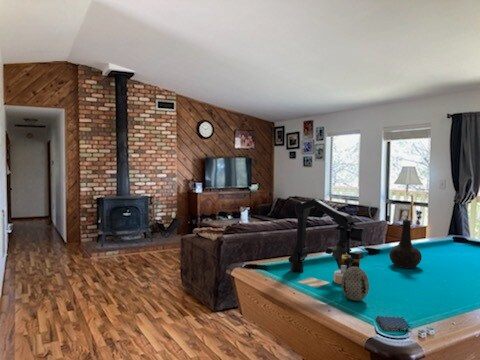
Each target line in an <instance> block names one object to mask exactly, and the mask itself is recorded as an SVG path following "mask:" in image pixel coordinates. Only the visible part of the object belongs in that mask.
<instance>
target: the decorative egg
mask: <svg viewBox="0 0 480 360" xmlns="http://www.w3.org/2000/svg"><path fill="white" fill-rule="evenodd" d="M341 289H342V292H343V294H344V295H345V297H346V298H347V299H349V300H351V301H355V302H357V301H358V302H359V301H362V300H363V299H365V298H366V297H367V296H368V294H369V292H370V282H369V278H368V275H367V273H366V272H365V271H364V269H362V268H361V267H360V266H359V267H356V266H353V267H350V268H348V269H347V270H346V271H345V273H344V275H343V277H342V284H341Z"/></svg>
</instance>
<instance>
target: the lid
mask: <svg viewBox="0 0 480 360" xmlns="http://www.w3.org/2000/svg"><path fill="white" fill-rule="evenodd" d="M346 267H347V266H346V265H341V270H340V269H338V270H334V272H333V275H334V274H335V275H336V276H339V277H343V275H344V273H345V271H346Z"/></svg>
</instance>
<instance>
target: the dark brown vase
mask: <svg viewBox="0 0 480 360" xmlns="http://www.w3.org/2000/svg"><path fill="white" fill-rule="evenodd" d="M401 225H402V227H401V229H402V230H401V236H400V239H399V242H398V244H397V245H395V246H393V247H392V248H391V249H390V250H389V260H390V262H392V264H393V265H395V266H396V267H399V268H403V269H404V268H405V269H414V268H417V266H418V265H419V264H420V263H421V262H422V257H423V256H422V253H421V251H420V250H419V249H418V248H416V247H414V245H413V244H412V234H411V231H412V230H411V229H412V228H411V225H413V223H412V220H409V219H405V220H402V224H401Z"/></svg>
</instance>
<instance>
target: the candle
mask: <svg viewBox="0 0 480 360" xmlns="http://www.w3.org/2000/svg"><path fill="white" fill-rule="evenodd" d="M348 257H349V256H348V255H342V260H341V265H346V266H347V259H346V258H348ZM360 264H361V259H359V260H356V259H355V260H354V261H353V263H352V265H351V267H353V266H356V267H359V268H360ZM339 270H341V268H340V269H339ZM346 270H347V267H346Z"/></svg>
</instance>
